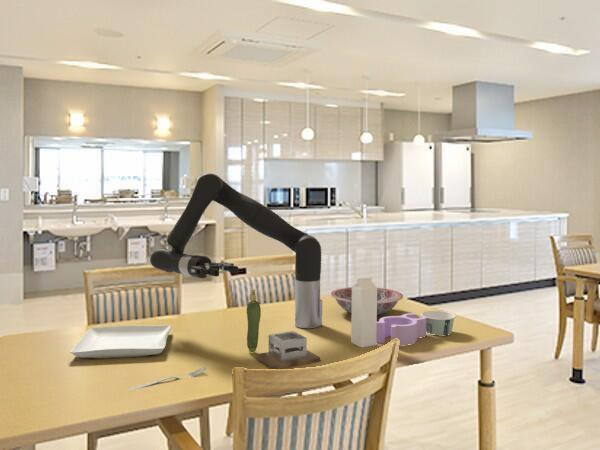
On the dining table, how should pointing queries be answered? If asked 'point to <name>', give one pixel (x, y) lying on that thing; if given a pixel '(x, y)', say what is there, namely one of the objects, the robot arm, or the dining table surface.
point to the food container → (439, 322)
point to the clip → (401, 328)
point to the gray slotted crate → (287, 346)
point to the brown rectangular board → (276, 364)
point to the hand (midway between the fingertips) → (228, 271)
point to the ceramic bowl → (384, 299)
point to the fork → (171, 377)
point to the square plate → (122, 341)
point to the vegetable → (253, 322)
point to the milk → (364, 313)
